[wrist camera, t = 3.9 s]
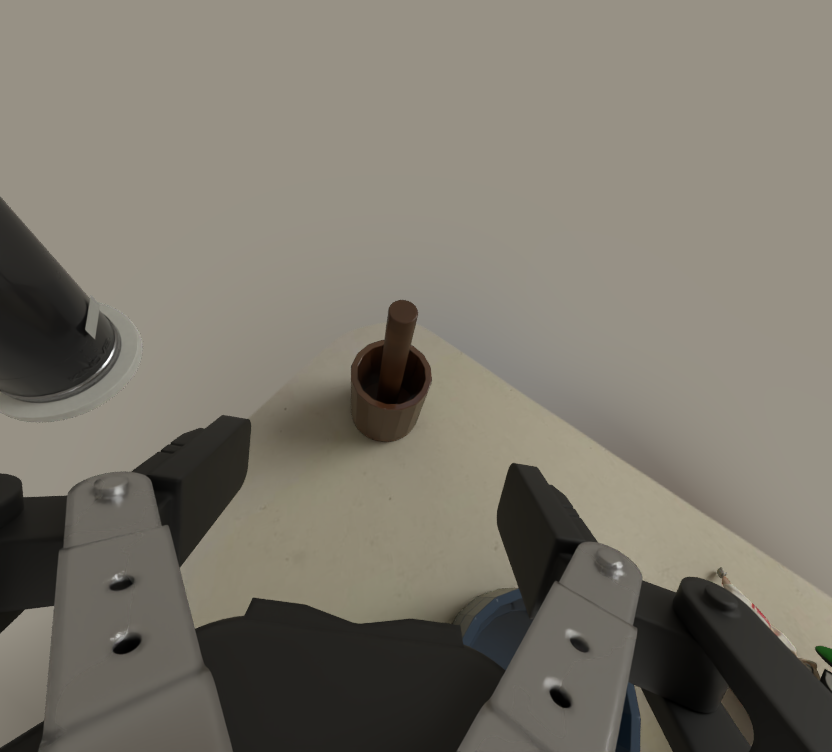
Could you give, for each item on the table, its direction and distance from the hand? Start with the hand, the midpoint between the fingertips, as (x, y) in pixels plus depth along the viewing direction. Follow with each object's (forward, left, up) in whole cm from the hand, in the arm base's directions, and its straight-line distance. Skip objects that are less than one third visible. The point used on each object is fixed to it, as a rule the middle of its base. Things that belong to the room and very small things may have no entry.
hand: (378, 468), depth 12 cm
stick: (-2, +11, -21) cm, 24 cm away
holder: (-2, +11, -21) cm, 24 cm away
